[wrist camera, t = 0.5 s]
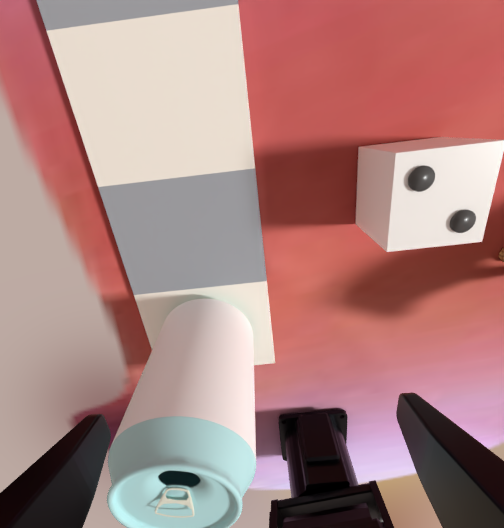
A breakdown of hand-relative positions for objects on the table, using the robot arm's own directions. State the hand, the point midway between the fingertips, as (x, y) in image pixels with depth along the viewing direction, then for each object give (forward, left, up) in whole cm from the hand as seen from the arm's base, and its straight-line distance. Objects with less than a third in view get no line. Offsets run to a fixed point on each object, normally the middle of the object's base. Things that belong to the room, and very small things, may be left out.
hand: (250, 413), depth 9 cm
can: (-7, +4, -13) cm, 15 cm away
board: (+5, +4, -13) cm, 15 cm away
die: (+3, -10, -13) cm, 17 cm away
